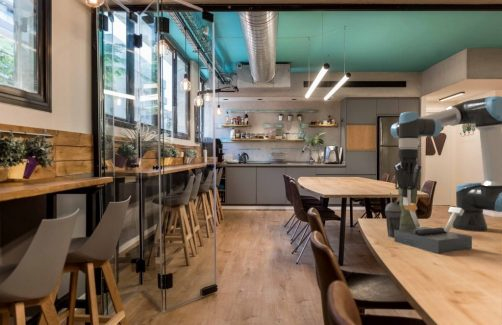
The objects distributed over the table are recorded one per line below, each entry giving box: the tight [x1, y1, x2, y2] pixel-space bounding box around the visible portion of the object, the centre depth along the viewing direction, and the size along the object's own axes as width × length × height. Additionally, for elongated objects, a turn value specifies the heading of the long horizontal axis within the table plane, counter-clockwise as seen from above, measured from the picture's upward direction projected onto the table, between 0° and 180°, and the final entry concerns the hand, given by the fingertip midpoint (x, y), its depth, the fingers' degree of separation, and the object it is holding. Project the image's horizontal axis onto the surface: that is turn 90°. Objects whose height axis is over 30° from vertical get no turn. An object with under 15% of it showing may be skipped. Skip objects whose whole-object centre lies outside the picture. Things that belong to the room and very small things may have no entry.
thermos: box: [394, 170, 422, 229], centre depth 180 cm, size 9×12×35 cm
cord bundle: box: [414, 227, 445, 235], centre depth 145 cm, size 15×3×2 cm, turn 112°
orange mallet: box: [404, 203, 421, 227], centre depth 150 cm, size 2×5×11 cm, turn 22°
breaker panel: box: [393, 226, 473, 255], centre depth 145 cm, size 18×22×5 cm
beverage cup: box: [384, 192, 402, 238], centre depth 162 cm, size 7×7×20 cm
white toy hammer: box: [444, 206, 464, 233], centre depth 141 cm, size 2×5×11 cm
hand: (406, 205), depth 148 cm, fingers closed
